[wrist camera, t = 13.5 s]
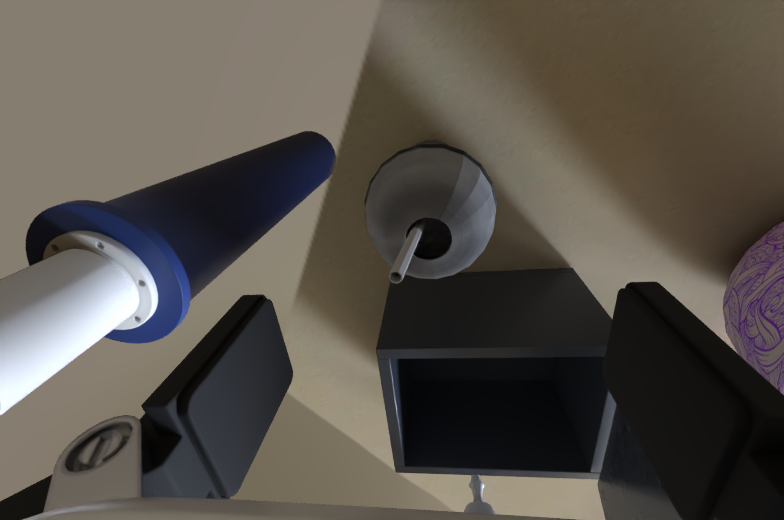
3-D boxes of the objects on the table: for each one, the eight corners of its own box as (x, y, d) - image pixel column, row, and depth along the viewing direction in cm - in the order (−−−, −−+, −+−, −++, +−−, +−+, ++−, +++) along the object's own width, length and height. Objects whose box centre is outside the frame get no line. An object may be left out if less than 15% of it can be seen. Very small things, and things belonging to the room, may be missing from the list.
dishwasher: (404, 380, 41) (395, 472, 31) (391, 275, 35) (375, 349, 25) (557, 379, 38) (600, 479, 29) (572, 267, 32) (632, 345, 23)
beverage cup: (446, 223, 32) (463, 400, 14) (373, 186, 31) (293, 324, 13) (492, 148, 28) (590, 254, 11) (412, 105, 28) (374, 141, 10)
